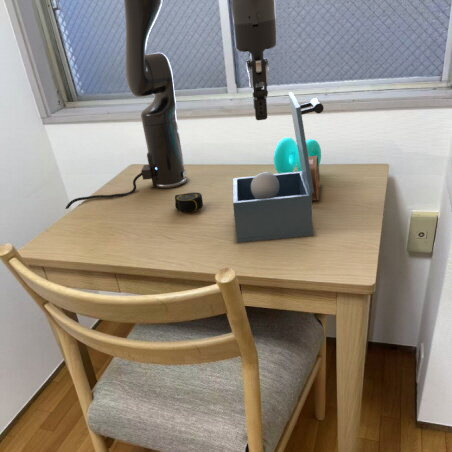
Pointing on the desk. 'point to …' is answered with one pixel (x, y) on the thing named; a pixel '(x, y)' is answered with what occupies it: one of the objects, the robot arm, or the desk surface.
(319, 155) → the turquoise spool
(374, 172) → the desk surface
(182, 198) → the tape measure
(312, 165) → the tin
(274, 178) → the lightbulb
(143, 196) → the desk surface
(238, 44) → the robot arm
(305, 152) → the lid
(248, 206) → the compartment
